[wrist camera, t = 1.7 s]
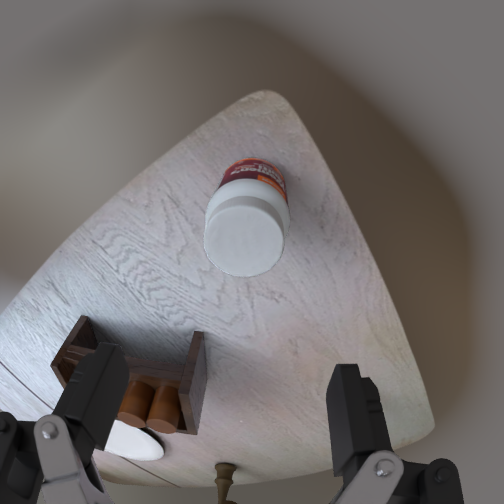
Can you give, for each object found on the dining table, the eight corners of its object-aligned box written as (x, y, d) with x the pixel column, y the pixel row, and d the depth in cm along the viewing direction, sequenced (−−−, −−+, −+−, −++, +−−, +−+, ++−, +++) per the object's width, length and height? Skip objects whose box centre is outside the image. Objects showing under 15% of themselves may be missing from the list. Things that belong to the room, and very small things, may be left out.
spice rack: (81, 315, 39) (43, 376, 29) (203, 331, 39) (185, 410, 28) (99, 361, 44) (71, 419, 34) (207, 378, 44) (195, 448, 33)
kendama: (246, 463, 61) (241, 538, 43) (227, 472, 65) (220, 540, 47) (223, 457, 59) (214, 534, 42) (206, 467, 63) (196, 535, 46)
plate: (47, 397, 54) (44, 402, 53) (130, 405, 50) (127, 412, 49) (103, 450, 66) (102, 454, 64) (182, 459, 62) (181, 465, 60)
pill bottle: (290, 162, 28) (303, 205, 18) (279, 222, 31) (283, 290, 21) (224, 151, 28) (198, 189, 18) (217, 212, 31) (192, 276, 21)
